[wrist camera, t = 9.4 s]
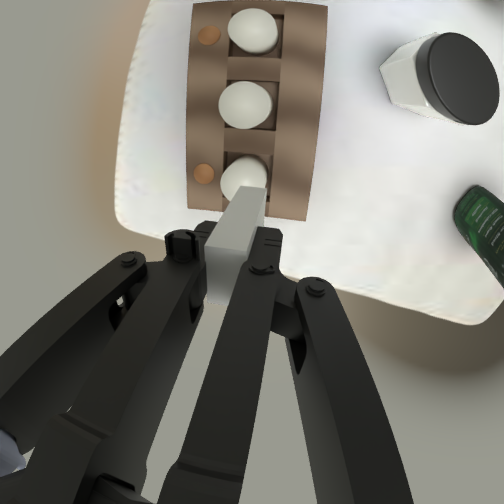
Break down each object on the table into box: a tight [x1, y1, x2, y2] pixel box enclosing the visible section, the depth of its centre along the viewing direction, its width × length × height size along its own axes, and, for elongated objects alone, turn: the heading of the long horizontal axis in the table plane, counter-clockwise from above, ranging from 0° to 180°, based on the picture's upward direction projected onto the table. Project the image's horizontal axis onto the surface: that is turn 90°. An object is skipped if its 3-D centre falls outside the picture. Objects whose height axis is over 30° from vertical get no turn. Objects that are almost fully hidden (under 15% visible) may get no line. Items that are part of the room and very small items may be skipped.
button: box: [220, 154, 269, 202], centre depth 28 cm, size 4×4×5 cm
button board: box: [186, 0, 328, 221], centre depth 26 cm, size 25×14×3 cm, turn 176°
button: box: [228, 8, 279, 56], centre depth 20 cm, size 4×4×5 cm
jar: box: [379, 32, 499, 125], centre depth 17 cm, size 9×8×12 cm
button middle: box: [219, 81, 273, 129], centre depth 23 cm, size 4×4×5 cm
